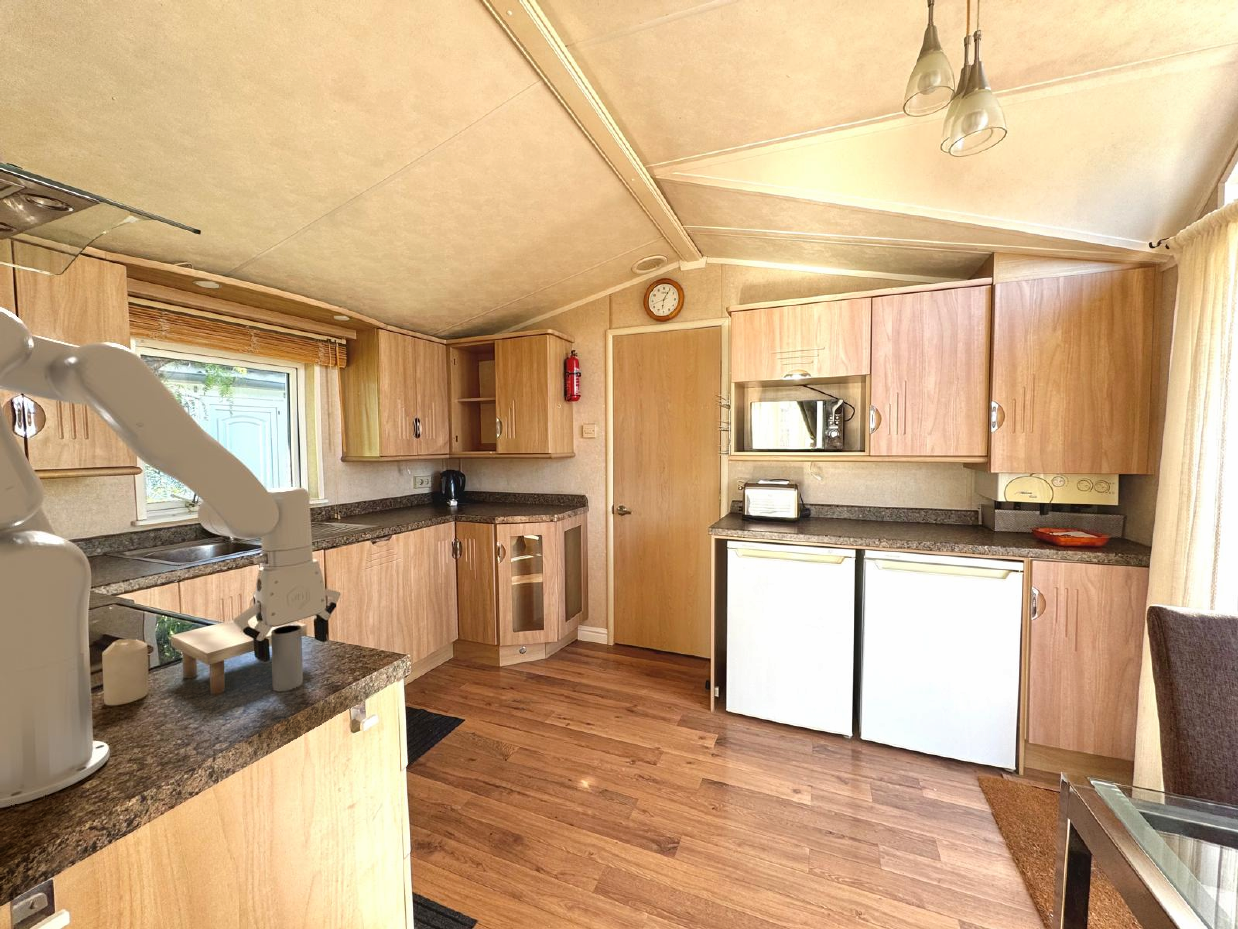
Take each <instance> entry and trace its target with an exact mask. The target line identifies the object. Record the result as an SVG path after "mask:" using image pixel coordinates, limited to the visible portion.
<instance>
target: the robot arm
mask: <svg viewBox="0 0 1238 929" xmlns="http://www.w3.org/2000/svg"><path fill="white" fill-rule="evenodd" d="M0 390H3V391H9V392H13V393H17V394H23V395H26V396H27V395H28V396H33V397H37V398H41V399H47V400H53V401H57V402H61V403H62V402H63V403H69V404H74V405H82V406H88V407H89V408H90V409H91V410H92V411H93V413H94V414H96V415H97V417H99V418H100V419H101V421H103V422H104V424H106V426H108V428H110V430H111V431H112V432H114V434H115V435H116V436H117V437H118V438H119V439H120V440H121V441H122V442H123V443H124V444H125V445H126V447H127V448H129V449H130V450H131V452H132V453H133V454H134V455H135V456H136V457H137V458H138V459H139V460H141V461H142V462H144V464H147V465H149V467H151V468H152V469H155V470H156V471H158V472H161V473H163V474H165V475H166V476H169V477H171V478H172V479H175V480H176V481H177V482H179V483H181V484H182V485H183V486H185V487H187V489H189V490H190V491H192V492H193V493H194V494H195V495H196V496H197V497H199V499H201V500H202V502H201V504H200V505H199V507H198V511H197V519H198V521H199V524H201V526H202V528H204V529H205V530H207V531H208V532H210V533H212V534H215V535H218V536H224V537H227V538H228V537H229V538H235V539H241V540H247V541H248V540H249V541H250V540H256V539H260V541H261V544H260V545H261V550H260V554H258V555H255V556H253V558H252V559H253V563H254V565H258V564H260V565H261V566H262V567H259V569H258V573H257V578H256V584H255V594H254V596H255V597H254V598H255V599H254V600H255V601H254V602H255V603H254V604H253V605H251V606H250V607H248V608H247V609H246V610H244V611H243V612H241V613H240V614H239V615H237V616H236V617H235V618H234V619H232V620H233V622H234V624H235V625H236V626H237V627H238V628H239V629H240V631H241V632H242V633H244V634H245V635H247V636H249V637H251V638H253V641H254V651H253V653H254V657H255V658H256V659H257V660H259V661H260V662H263V663H268V662H269V661H270V660H271V653H270V652H271V650H270V646H269V639H267V638H266V635H267V634H268V632H269V631H270V630H271V628H272V627H277V626H281V625H285V624H288V623H292V622H295V621H296V622H298V621H302V620H304V619H308V618H311V617H315V618H314V619H313V628H314V629H313V630H314V631H313V632H314V634H313V635H314V639H315V640H316V641H319V642H322V643H326V642H327V641H328V635H329V623H328V622H329V620H330V618H331V616H332V613H333V612H334V610H335V609H336V608H337V603H338V601H339V600H340V596H341V592H340V591H338V590H333V589H328V588H325V583H324V577H323V573H322V569H321V566H320V563H319V560H318V559H315V558H313V540H312V539H313V538H312V524H311V523H312V521H311V519H312V518H311V506H310V502H311V501H310V494H309V492H308V490H307V489H306V488H304V487H297V486H293V487H292V486H290V487H276V488H269V489H267V488H266V487H265V486H264V484H262V483H261V481H260V480H259V479H258V478H257V477H256V475H255V474H254V473H253V471H251V470H250V469H249V468H248V467H247V466H246V465H245V464H244V463H243V462H242V461H241V460H240V459H239V458H238V457H237V456H235V455H234V454H233V453H232V452H230V451H229V450H228V449H226V448H225V447H224V445H222V444H221V443H219V441H217V440H216V439H215V438H214V437H213V436H212V435H210V434H209V433H208V432H206V431H205V430H204V429H203V428H202V427H201V426H200V425H199V424H198V422H196V420H194V419H193V417H192V416H191V415H190V414H189V412H188V410H186V409H185V408H184V407H183V406H182V404H181V403H180V402H179V401H178V400H177V399H176V398H175V395H173V394H172V393H171V392H170V390H169V389H168V388H167V387H166V385H165V384H164V383H163V382H162V381H161V380H160V378H159V377H158V376H157V375H156V374H155V373H154V372H153V371H152V369H151V368H150V366H148V364H146V362H145V361H144V360H143V359H142V358H141V357H140V356H139V355H138V354H136V353H135V352H134V351H133V350H131V349H129V348H127V346H126V347H125V346H124V345H121V344H117V343H113V342H93V343H87V344H83V345H79V346H78V345H74V344H69V343H66V342H62V341H59V340H58V341H57V340H54V339H49V338H47V337H42V336H39V335H35V334H32V333H31V332H30V330H29V328H28V327H27V326H26V324H25V322H23V320H21V319H20V318H19V317H17V315H15V314H13V313H12V312H11V311H8V310H7V309H5V308H2V307H0ZM43 485H44V484H43V482H42V480H41V479H40V477H39V475H38V474H37V473H36V471H35V469H34V468H33V466H32V464H31V463H30V461H29V459H28V458H27V456H26V454H25V452H24V450H23V449H22V447H21V444H20V443H19V441H18V439H17V437H16V436H15V434H14V432H13V430H12V428H11V425H10V422H9V420H8V419H7V417H6V414H5V412H4V410H3V408H2V404H1V403H0V809H3V808H7V807H11V805H12V806H16V805H15V804H17V805H19V804H23V803H27V802H31V801H33V800H36V799H40V798H42V797H46V796H48V795H50V794H54V793H56V792H59V791H60V790H63V789H66V788H67V787H69V786H72V785H74V784H76V783H78V782H79V781H81V780H83V779H85V778H87V777H88V776H90V775H92V774H94V773H95V772H97V770H98V769H101V767H103V765H104V764H105V763H107V761H108V759H110V755H111V754H110V752H111V750H110V746H109V744H107V743H106V742H104V741H99V740H94V734H93V730H94V729H93V708H92V705H93V704H92V683H91V661H90V659H91V658H90V655H91V654H90V647H89V646H90V643H89V642H90V641H89V640H90V639H89V609H90V608H89V606H90V597H91V588H92V570H91V565H90V562H89V559H88V557H87V556H86V554H85V553H84V551H83V550H82V549H81V548H80V547H79V546H78V545H76V544H75V543H74V542H73V541H70V540H68V539H66V538H64V537H61V536H58V535H57V534H56V532H55V530H54V528H53V527H52V525H51V523H50V522H49V519H48V518H47V516H46V515H47V514H46V513H45V512H44V510H43V508H42V504H43V502H44V499H45V488H44V486H43ZM327 597H328V599H327ZM255 615H256V620H257V622H258V623H257V625H256V626H255V627H254V629H253V628H251V627H250V626H249V624H248V621H249V620H250V619H251V618H252V617H254V616H255ZM45 795H46V796H45Z"/></svg>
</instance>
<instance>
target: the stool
mask: <svg viewBox="0 0 1238 929" xmlns="http://www.w3.org/2000/svg"><path fill="white" fill-rule="evenodd" d="M233 620H234V619H231V620H228V621H223V622H220V623H216V624H212V625H208V626H204V627H199V628H195V629H191V630H188V631H187V630H186V631H183V632H180V633H176V634H171V635H170V641H171V642H170V643H171V645H170V646H171V647H172V648H173V649H176V650H178V651H180V652H181V655H182V656H181V657H182V678H183V679H184V678H188V679H192V678H195V677H197V676H198V667H197V665H198V662H197V661H199V662H201V663H203V664H205V665H207V666H209V691H210V694H209V695H211V696H214V695H216V696H217V695H220V694H222V693H224V692H225V691H226V683H225V682H226V680H225V660H229V659H232V658H236V657H239V656H242V655H246V654H248V653H251V652H254V641H253V638H251V637H249V636H247V635H245V634H244V633H242V632H241V631H240V629H239V628H238V627H237V626H236V625H235V624H234V622H233ZM257 623H258V622H257V620H256V615H255V616H254V617H252V618H251V619H250V620H249V621H248V624H249V626H250V627H251V628H253V629H254V627H255V626H256V625H257ZM287 625H300V626H301V628H302V637H305V636H307V635H308V629H307V628H308V627H307V624H305V623H302V622H298V621H295V622H292V623H288V624H285V625H281V626H277V627H272V628H271V630H270V631H269V632H268V634H267V635H266V638H267V639H269V647H272V642H271V632H272V630H274V629H276V628H279V627H282V626H287ZM196 675H197V676H196Z"/></svg>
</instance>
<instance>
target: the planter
mask: <svg viewBox="0 0 1238 929" xmlns="http://www.w3.org/2000/svg"><path fill="white" fill-rule="evenodd" d="M302 637H303V636H302V628H301V626H300V625H287V626H282V627H279V628H276V629H274V630H272V632H271V642H272V646H271V666H272V667H271V670H272V674H271V675H272V689H273V690H274V691H275V692H286V691H290V690H294V689H296V687H297V688H298V687H300V686H301V685H302V684H303V682H304V681H303V680H304V669H303V667H304V666H303V638H302ZM293 688H294V689H293Z"/></svg>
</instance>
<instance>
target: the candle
mask: <svg viewBox="0 0 1238 929" xmlns="http://www.w3.org/2000/svg"><path fill="white" fill-rule="evenodd" d="M101 656H102V657H101V658H102V661H101V662H102V682H103V684H102V685H103V686H102V687H103V703H104V705H105V706H119V705H125V704H129V703H132V702H135V701H138V700H140V699H143V698H145V697H146V696H147V695H148V694H149V690H150V689H149V686H150V684H149V683H150V682H149V662H148V661H149V660H148V658H149V657H148V656H149V655H148V644H147V643H146V642H144V641H142V640H139V639H137V638H136V639H131V638H128V639H122V638H121V639H118V640H115V641H113V642H112V643H111V644H110V645H109V646H108V647H107V648H105V650H104V651H102V653H101Z"/></svg>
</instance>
